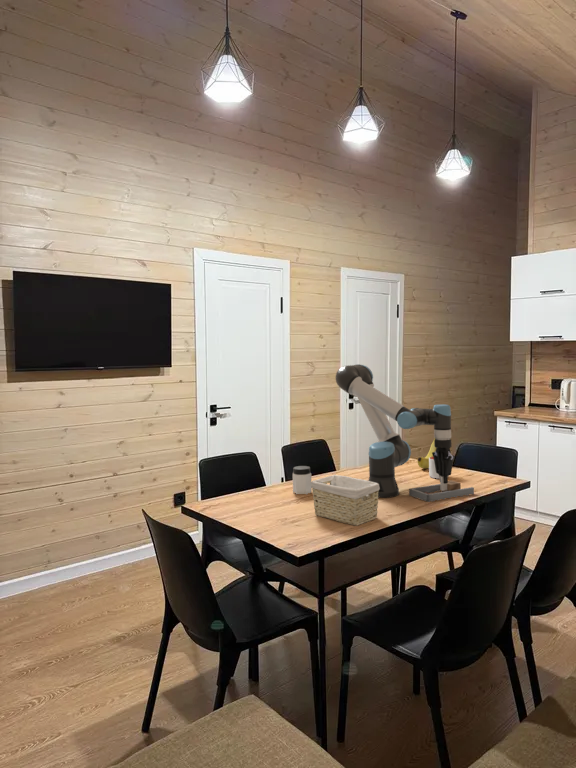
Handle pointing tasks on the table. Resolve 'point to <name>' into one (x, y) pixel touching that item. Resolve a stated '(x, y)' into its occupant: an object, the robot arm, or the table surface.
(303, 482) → the jar
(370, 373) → the robot arm
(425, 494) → the trough
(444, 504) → the table surface
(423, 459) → the banana
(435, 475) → the cup
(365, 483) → the storage basket
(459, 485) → the walnut block
